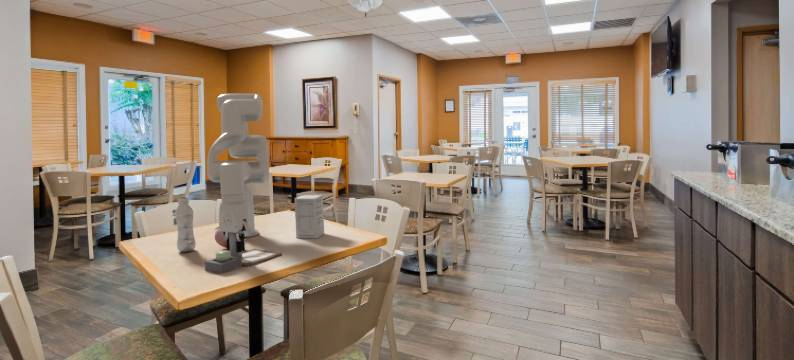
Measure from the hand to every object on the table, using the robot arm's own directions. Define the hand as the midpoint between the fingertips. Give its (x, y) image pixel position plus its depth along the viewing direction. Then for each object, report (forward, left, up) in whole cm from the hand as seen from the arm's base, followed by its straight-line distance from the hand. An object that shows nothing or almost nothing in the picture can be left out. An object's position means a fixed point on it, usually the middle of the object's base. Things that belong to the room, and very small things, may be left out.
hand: (236, 250), depth 158 cm
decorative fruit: (-15, +9, -4) cm, 18 cm away
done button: (+4, -8, -1) cm, 9 cm away
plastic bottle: (-26, 0, -4) cm, 27 cm away
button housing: (+4, -9, -4) cm, 10 cm away
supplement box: (0, +39, -4) cm, 40 cm away
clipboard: (+3, +4, -4) cm, 6 cm away
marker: (0, 0, -3) cm, 3 cm away
